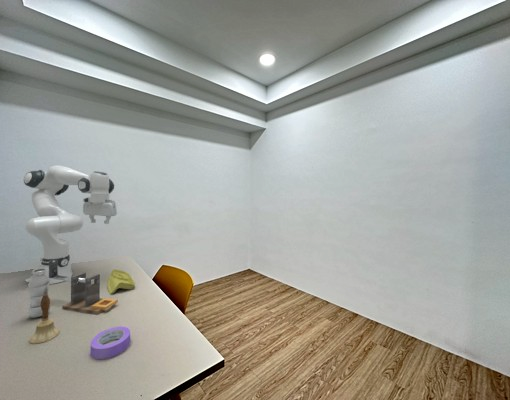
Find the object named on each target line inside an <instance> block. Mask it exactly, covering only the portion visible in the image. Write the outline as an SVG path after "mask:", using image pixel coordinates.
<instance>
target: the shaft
mask: <svg viewBox="0 0 510 400" xmlns="http://www.w3.org/2000/svg"><path fill="white" fill-rule="evenodd" d="M49 278H51V279H57V280H65V281H64V282H71V277H69V276H61V275H58V260H50V261H49ZM86 278H87V277H86ZM86 278H80V277H79V278H77V283H78V282H80V283H85V279H86Z"/></svg>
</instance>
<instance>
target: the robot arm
mask: <svg viewBox="0 0 510 400" xmlns="http://www.w3.org/2000/svg"><path fill="white" fill-rule="evenodd" d="M23 184H24V185H25V186H26V187H29V188H31V189H37V190H35V191H34V192H33V193H32V194H31V203H32V205H33V208H34V209H35V211H36V213H37V216H38V217H37V216H36V217H34V218H30V219H29V220H28V221H27V222H26V224H25V230H26V232H27V233H28V234H29V235H31V236H32V237H35V238H37V239H38V240H39V241H40V242H41V244H42V249H43V257H42V258H41V259H40V265H38V266H36V267H35V268H34V269H33V270H32V271H31V276H30V277H27V278H26V279H25V281H26V283H28V282H30V280H31V279H32V278H33V277H34V276H33V272H34V271H35V270H38V269H45V272H46V274H45V275H46V276H47V277H48V278H49V261H50V260H58V275H61V276H69V277H72V276H74V272H72V265H71V262H70V260H71V259H70V253H69V252H70V251H69V250H70V248H69V247H70V245H69V242H68V241H66V240H65V239H63V238H62V239H61V238H58V236H57V235H59V234H68V233H73V232H76V231H79V230H81V228H82V227H83V225H84V220H83V218H82V217H81V216H80V215H78V214H74V213H71V212H69V211H67V210H65V209H64V208H63V207H61V205H60V203H59V201H58V200H57V198H56V196H60V195H61V194H63V193H65V192H66V191H68V189H69V186H77V187H78V190H79V192H81V193H82V194H90V196H88V197H85V198H82V202H83V205H82V214H83V215H85V216H88V217H89V219H90V223H92V224H95V223H96V221H97V220H96V219H95V216H97V217H98V216H100V217H101V216H103V217H105V218H106V219H105V220H104V224H105V225H107V224H109V223H110V220H111V218H112V217H115V216H117V205H116V202H115V201H114V200H113V199H110V194H111V193H112V192H113V191H114V190H115V184H114V182H113V181H112V180H111V178H109V174H108V173H106V172H102V171H92V172H91V174H89V175H88V174H86V173H83V172H81V171H79V170H76V169H74V168H70V167H68V166H65V165H58V164H57V165H52V166H50V167H49V168H48V170H47V171H44V170H42V169H39V170H32V171H31V170H30V171H29V172H26V173H25V175H24V177H23ZM49 280H50V283H49V285H53V284H57V283H62V282H66V281H65V280H57V279H51V278H49ZM25 281H24V282H25Z"/></svg>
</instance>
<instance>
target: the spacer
mask: <svg viewBox="0 0 510 400" xmlns="http://www.w3.org/2000/svg"><path fill="white" fill-rule="evenodd" d="M102 299H103V300H101V301H99V302H97V303H96V304H94V305H92V308H94V309H104V311H105V310H108V309H109V308H111V307H112V306H114V305H115V303H116V304H117V303H118V302H119V300H118V299H117V298H116V299H114V298H102ZM103 303H108V304H107V305H102V304H103Z"/></svg>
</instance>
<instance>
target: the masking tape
mask: <svg viewBox="0 0 510 400" xmlns="http://www.w3.org/2000/svg"><path fill="white" fill-rule="evenodd" d="M114 340H116V341H114ZM110 341H113V342H111V343H107V342H110ZM105 343H106V344H105ZM130 344H131V329H130V328H129V327H126V326H114V327H110V328H107V329H105V330H103V331H101V332H99V333H98V334H96V335H95V336H94V337H93V338H92V340H91V341H90V356H91V357H92V358H93V359H97V360H105V359H109V358H112V357H115V356H117V355H119V354H121V353H123V352H124V351H125V350H126V349H127V348H128V347H129V346H130Z"/></svg>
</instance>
